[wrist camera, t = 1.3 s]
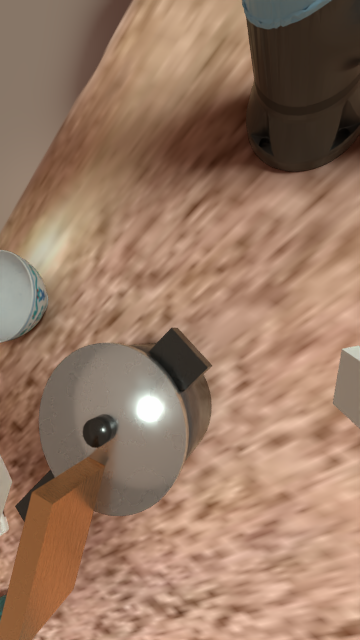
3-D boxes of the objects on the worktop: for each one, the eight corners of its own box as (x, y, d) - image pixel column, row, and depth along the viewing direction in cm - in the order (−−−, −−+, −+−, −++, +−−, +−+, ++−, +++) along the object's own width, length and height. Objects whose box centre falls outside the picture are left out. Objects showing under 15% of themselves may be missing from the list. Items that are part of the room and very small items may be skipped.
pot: (173, 301, 46) (136, 290, 35) (258, 390, 41) (247, 413, 30) (51, 431, 53) (-13, 459, 41) (112, 522, 48) (59, 580, 37)
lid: (66, 324, 37) (0, 321, 29) (209, 372, 31) (179, 387, 22) (14, 535, 39) (-64, 594, 30) (140, 622, 32) (88, 728, 24)
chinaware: (79, 314, 52) (46, 311, 44) (21, 356, 56) (-19, 359, 48) (46, 244, 55) (10, 231, 47) (-7, 288, 59) (-48, 282, 51)
